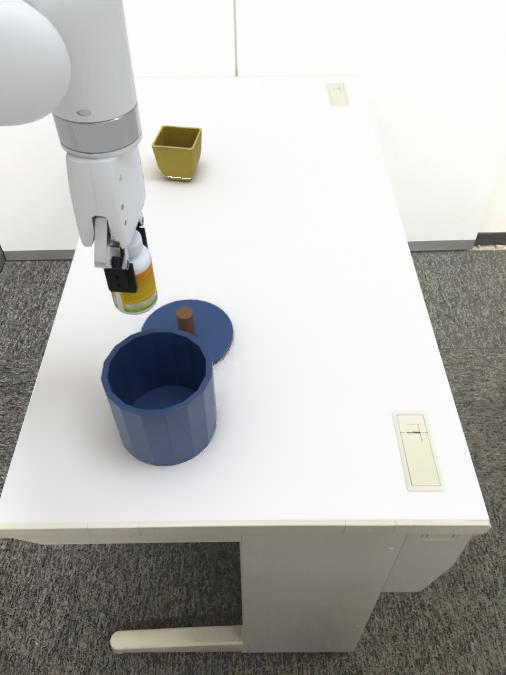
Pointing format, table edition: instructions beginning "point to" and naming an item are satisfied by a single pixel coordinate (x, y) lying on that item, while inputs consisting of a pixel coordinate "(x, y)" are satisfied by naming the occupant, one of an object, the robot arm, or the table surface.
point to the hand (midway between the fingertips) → (129, 271)
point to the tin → (161, 395)
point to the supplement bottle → (137, 279)
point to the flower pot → (177, 151)
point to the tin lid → (196, 323)
